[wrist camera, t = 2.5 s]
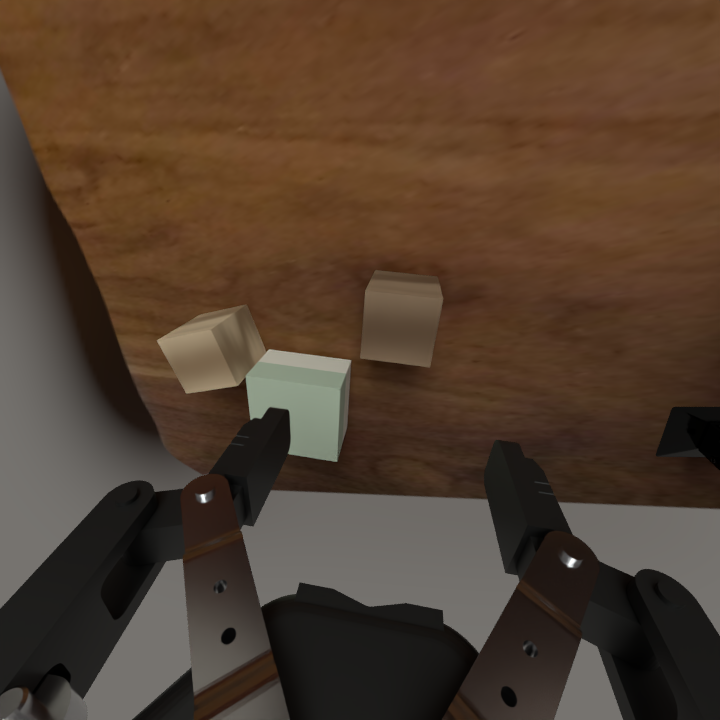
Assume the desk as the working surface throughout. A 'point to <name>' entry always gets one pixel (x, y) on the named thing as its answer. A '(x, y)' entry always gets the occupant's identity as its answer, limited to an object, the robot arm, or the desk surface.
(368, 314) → the walnut brick
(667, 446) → the black angular block
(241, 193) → the desk surface
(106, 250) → the desk surface
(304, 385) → the brick base
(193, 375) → the brick
